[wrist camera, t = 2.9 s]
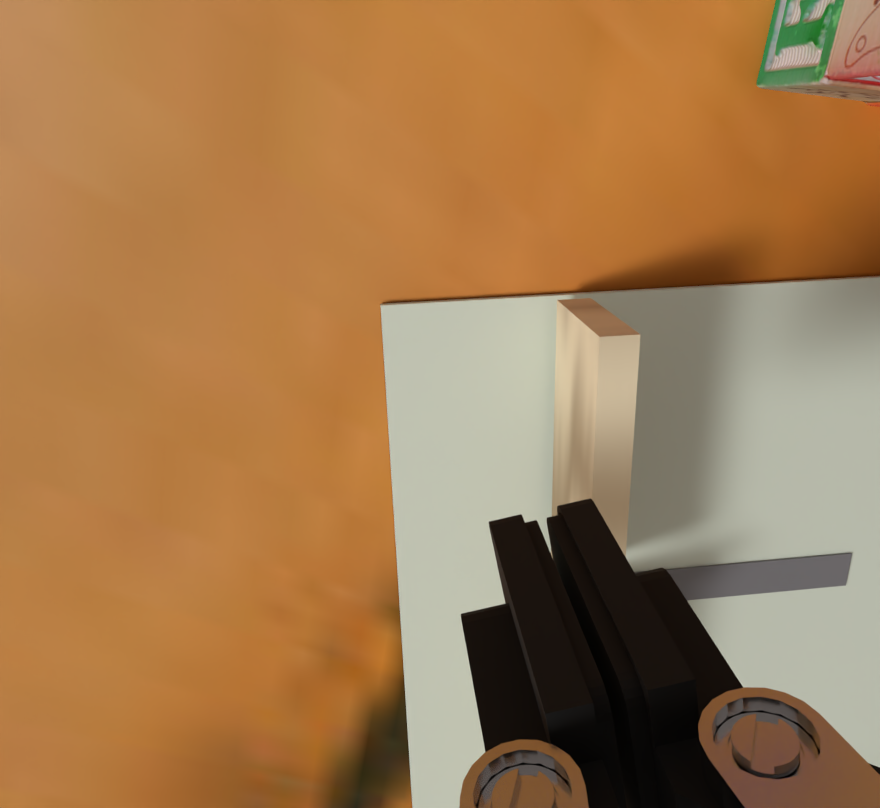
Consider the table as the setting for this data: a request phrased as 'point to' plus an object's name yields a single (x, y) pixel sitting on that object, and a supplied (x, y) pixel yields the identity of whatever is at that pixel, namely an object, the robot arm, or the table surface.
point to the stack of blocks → (824, 49)
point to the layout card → (650, 486)
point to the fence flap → (594, 411)
